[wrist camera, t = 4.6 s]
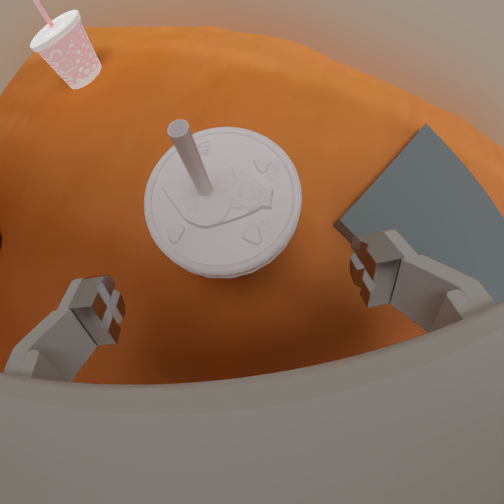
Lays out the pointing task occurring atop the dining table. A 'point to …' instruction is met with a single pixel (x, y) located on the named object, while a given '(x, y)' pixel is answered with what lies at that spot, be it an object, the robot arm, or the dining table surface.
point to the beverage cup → (67, 48)
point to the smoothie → (222, 200)
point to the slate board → (435, 211)
